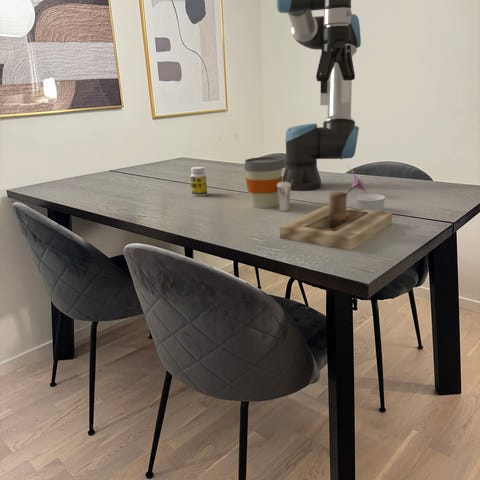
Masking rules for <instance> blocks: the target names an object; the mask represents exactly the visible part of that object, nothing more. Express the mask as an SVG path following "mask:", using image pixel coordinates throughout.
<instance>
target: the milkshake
mask: <svg viewBox="0 0 480 480" xmlns="http://www.w3.org/2000/svg"><path fill="white" fill-rule="evenodd" d="M292 181H293V180H292ZM291 183H292V182H291ZM291 193H292V190H291V184H290V183H289V182H279V183H278V184H277V194H278V211H280V212H288V211H290V208H291V207H290V203H291Z"/></svg>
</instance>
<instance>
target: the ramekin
mask: <svg viewBox="0 0 480 480" xmlns="http://www.w3.org/2000/svg"><path fill="white" fill-rule="evenodd" d="M385 200H386V196H385V195H383V194H377V193H367V194H366V193H363V194H358V195H356V196H355V204H356V207H355V208H356V209H363V210H372V211H380V212H384V208H385V202H386V201H385Z"/></svg>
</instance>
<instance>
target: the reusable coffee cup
mask: <svg viewBox="0 0 480 480" xmlns="http://www.w3.org/2000/svg"><path fill="white" fill-rule="evenodd" d="M283 164H284V163H283V159H282V157H275V156H270V157H269V156H265V157H264V156H261V157H260V156H259V157H251V158H246V159H245V160H244V170H245V174H246V176H245V181H246V189H247V192H248V193H249V199H250V205H251V207H252V208H256V209H270V208H274V207H277V206H279V204H278V194H277V184H278V183H279V182H282V179H283V175H282V173H283V172H282V171H283V168H284V165H283Z"/></svg>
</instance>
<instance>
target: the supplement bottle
mask: <svg viewBox="0 0 480 480" xmlns="http://www.w3.org/2000/svg"><path fill="white" fill-rule="evenodd" d="M190 170H191V171H190V172H191V174H190V188H191V189H190V192H191V196H194V197H203V196H206V195H207V194H208V186H207V185H208V184H207V175H206V173H205V166H192V167H191V168H190Z"/></svg>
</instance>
